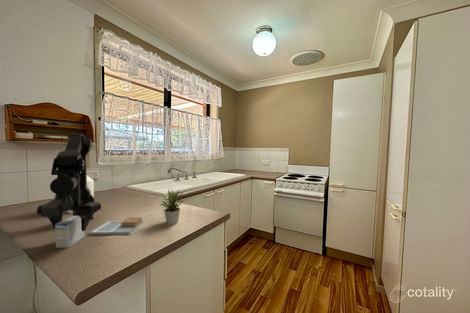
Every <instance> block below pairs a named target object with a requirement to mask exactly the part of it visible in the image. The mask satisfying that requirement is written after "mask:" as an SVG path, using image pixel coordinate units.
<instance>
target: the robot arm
mask: <svg viewBox="0 0 470 313" xmlns="http://www.w3.org/2000/svg"><path fill="white" fill-rule="evenodd" d="M91 148H93V140H92V138H91V137H88V136H86V135H85V134H83V133H69V134H68V136H67V138H66V146H65V149H64V150H63V151H60V152H58V154H57V155H56V156H55V157H54V158H53V160H52V168H51V173H50V175H51V176H56V178H54V179H53V180H52V181H51V183H50V185H49V190H50V191H51V192H52V193H53V194H55V195H54V199H52V200H50V201H48V202H47V203H44V204H40V205H39V206H38V207H37V208H36V214H37V215H40V216H41V217H44V218H47V219H48V220H49V222H50V223H51V225H52V227H53V228H54V229H55V224H56V223H58V222H61V221H63V214H64V212H68V210H73V213H72V216H79V217H80V218H81V228H82V231H86V229H87V228H88V225H89V223H90V222H91V220H93V219H94V218H95V217H94V214H95V213H97V212H98V211H100V210H101V209H102V204H101V202H99V201H95V196H94V197H93V195H91V191H90V190H89V188H88V187H87V176H88V174H87V173H88V172H87V170H88V168H87V166H88V165H87V164H88V163H87V161H88V160H87V157H88V155H89V154H90V152H91Z"/></svg>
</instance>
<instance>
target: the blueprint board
mask: <svg viewBox="0 0 470 313" xmlns="http://www.w3.org/2000/svg"><path fill="white" fill-rule="evenodd" d="M143 223H144V220H143V217H142V216H137V217H136V216H135V217H134V216H133V217H132V216H130V217H129V216H128V217H127V218H126V219H124V220H107V221H106V222H104V223H102V224H100V225H99V226H97V227H95V228H93V229H92V230H90V231H88V235H89V236H90V235H91V236H94V235H96V236H97V235H99V236H101V235H102V236H104V235H110V236H112V235H115V236H116V235H121V236H122V235H131V234H132V233H133V232H134V231H135V230H136V229H137V228H139V227H140V226H141V225H142V224H143Z"/></svg>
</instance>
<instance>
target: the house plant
mask: <svg viewBox="0 0 470 313" xmlns="http://www.w3.org/2000/svg"><path fill="white" fill-rule="evenodd" d="M180 190H181V189H178V190H177V191H176V192H174V190H173V189H172V188H170V189H167V195H168V196H167V197H168V199H167V198H166V197H165V196H164V195H163V194H161V193H157V195H160V196H161V197H162V198H163V199H164V200H161V202H162V203H159V205H160V206H163V207H165V209H164V217H165V221H166V225H168V226H169V225H172V226H173V225H177V224H178V223H179V219H180V218H179V217H180V211H181V208H180V206H181V205H182V203H183V202H184V203H185V200H188V199H187V198H186V199H183V200H180V199H182V198H183V197H184V196H185V195H186V193H185V192H187V191H188V189H187V190H184V191H181V193H180ZM165 201H166V202H165Z"/></svg>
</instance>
